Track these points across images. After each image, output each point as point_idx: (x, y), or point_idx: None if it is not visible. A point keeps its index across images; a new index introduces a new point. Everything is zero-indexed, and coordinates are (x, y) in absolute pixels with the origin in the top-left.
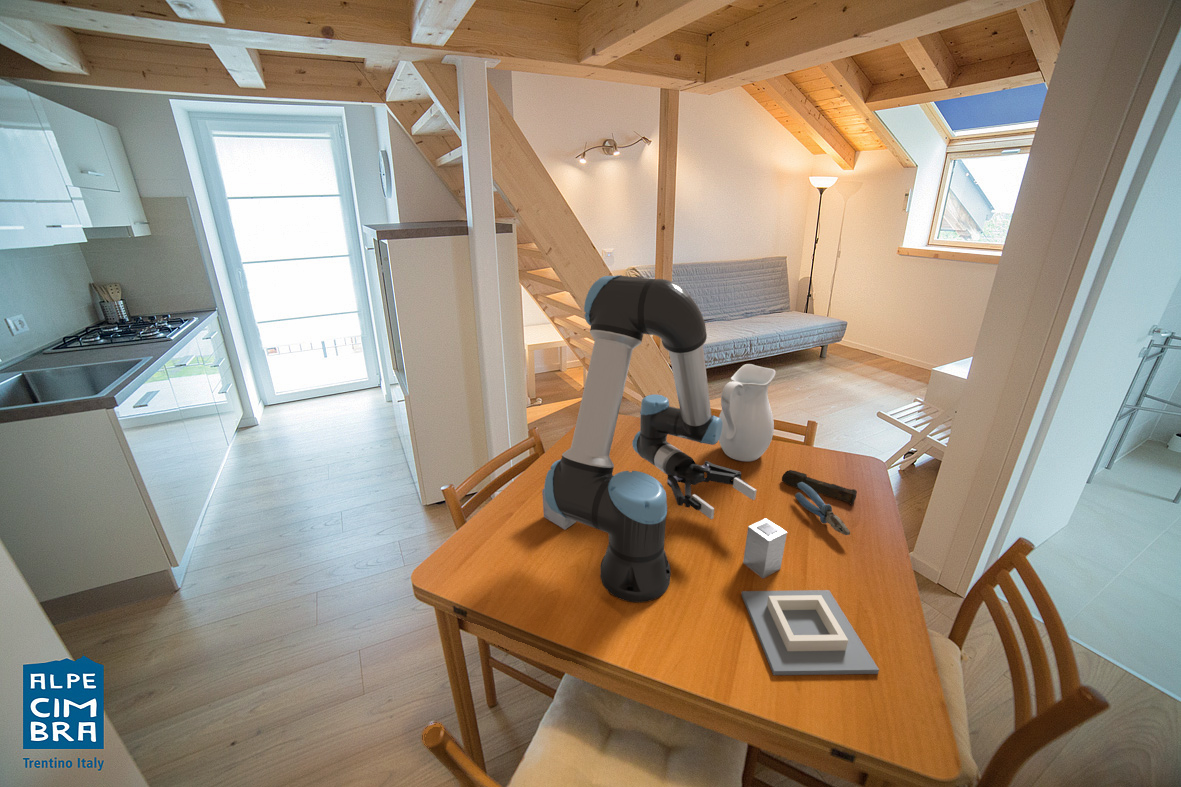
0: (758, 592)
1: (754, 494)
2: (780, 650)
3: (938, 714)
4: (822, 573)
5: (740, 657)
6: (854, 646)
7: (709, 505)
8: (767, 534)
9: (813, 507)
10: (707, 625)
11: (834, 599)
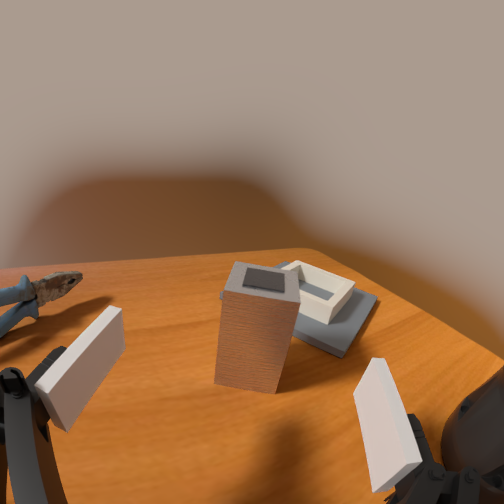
0: (320, 339)
1: (120, 325)
2: (357, 299)
3: (278, 249)
4: (180, 308)
5: (397, 320)
6: None
7: (381, 376)
8: (284, 274)
9: (3, 319)
10: (416, 353)
11: None
